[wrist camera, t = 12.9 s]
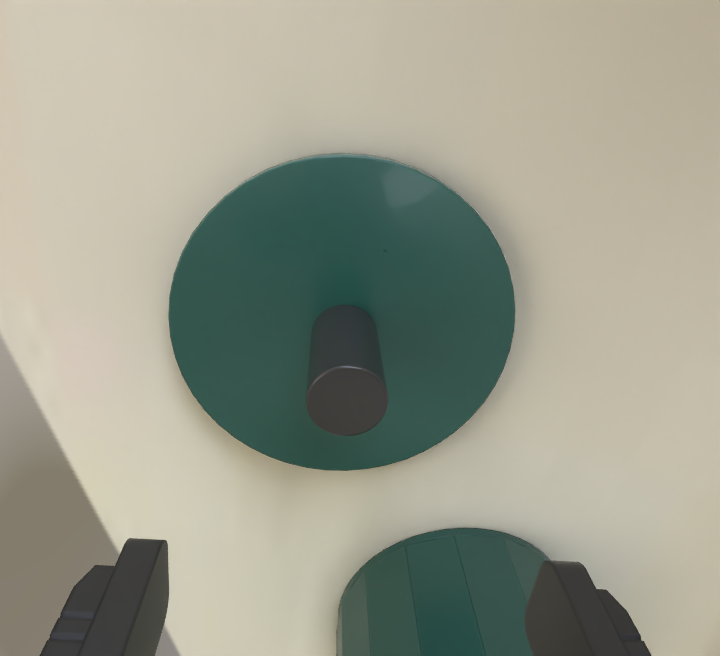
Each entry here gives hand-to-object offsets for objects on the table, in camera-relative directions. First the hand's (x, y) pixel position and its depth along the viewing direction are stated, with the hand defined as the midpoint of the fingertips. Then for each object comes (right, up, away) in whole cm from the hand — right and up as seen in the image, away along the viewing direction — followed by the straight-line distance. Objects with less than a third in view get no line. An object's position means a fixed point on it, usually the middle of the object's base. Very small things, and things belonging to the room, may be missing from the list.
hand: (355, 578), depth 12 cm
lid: (-1, +5, +11) cm, 12 cm away
